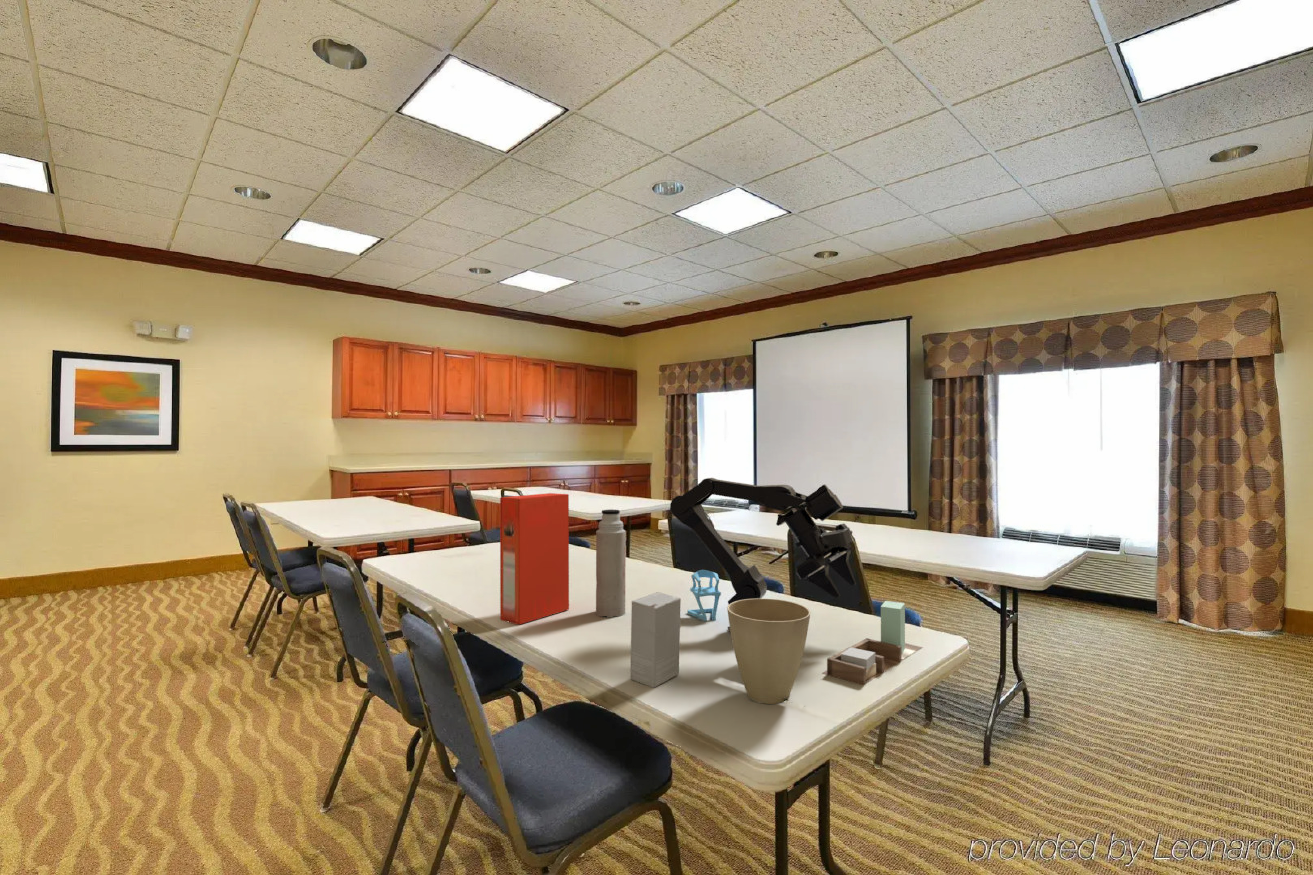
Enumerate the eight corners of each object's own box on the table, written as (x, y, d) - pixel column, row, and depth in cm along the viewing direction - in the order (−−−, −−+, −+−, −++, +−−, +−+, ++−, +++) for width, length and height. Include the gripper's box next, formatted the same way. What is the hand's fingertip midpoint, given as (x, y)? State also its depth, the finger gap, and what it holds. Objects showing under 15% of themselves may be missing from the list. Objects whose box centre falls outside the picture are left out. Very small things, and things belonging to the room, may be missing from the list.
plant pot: (713, 701, 108) (713, 612, 108) (746, 674, 120) (746, 594, 121) (794, 722, 100) (794, 625, 100) (820, 690, 113) (820, 605, 113)
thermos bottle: (626, 609, 168) (626, 508, 168) (624, 617, 160) (624, 511, 160) (597, 608, 168) (598, 508, 168) (594, 617, 160) (594, 511, 160)
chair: (696, 622, 156) (696, 575, 156) (686, 613, 164) (687, 568, 164) (724, 620, 158) (724, 574, 158) (713, 611, 166) (714, 567, 166)
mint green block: (900, 656, 128) (900, 609, 128) (880, 652, 130) (880, 606, 130) (904, 648, 132) (904, 603, 132) (885, 645, 134) (885, 600, 134)
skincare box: (655, 667, 124) (655, 590, 124) (683, 676, 119) (683, 596, 120) (627, 680, 117) (627, 598, 118) (655, 689, 113) (656, 604, 113)
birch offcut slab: (864, 680, 115) (864, 670, 115) (840, 673, 118) (840, 663, 118) (876, 673, 118) (876, 663, 118) (852, 666, 122) (852, 656, 122)
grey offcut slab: (866, 670, 115) (866, 659, 115) (841, 664, 118) (841, 653, 118) (875, 662, 119) (875, 652, 119) (850, 657, 122) (850, 647, 122)
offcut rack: (863, 690, 113) (863, 669, 113) (821, 678, 119) (821, 657, 119) (922, 651, 134) (922, 633, 134) (885, 642, 140) (885, 625, 140)
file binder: (499, 619, 157) (500, 497, 158) (548, 605, 171) (549, 492, 172) (520, 625, 153) (520, 498, 153) (568, 610, 166) (569, 494, 167)
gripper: (814, 523, 130) (858, 587, 125) (848, 506, 144) (888, 563, 139) (778, 548, 136) (818, 609, 131) (813, 529, 150) (851, 584, 146)
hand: (846, 590), depth 137 cm, fingers open, 9 cm apart
